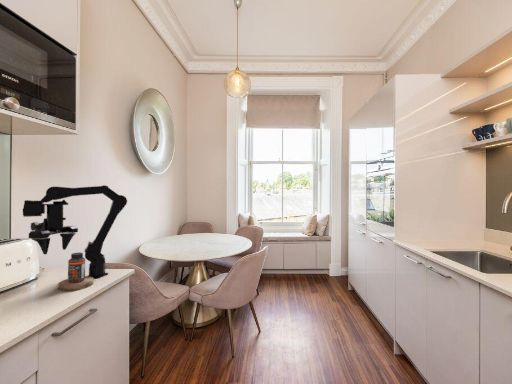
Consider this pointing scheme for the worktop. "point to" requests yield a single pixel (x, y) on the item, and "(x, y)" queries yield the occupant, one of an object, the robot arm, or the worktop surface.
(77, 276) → the supplement bottle
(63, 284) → the walnut plinth
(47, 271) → the worktop surface
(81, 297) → the worktop surface
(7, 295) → the worktop surface
